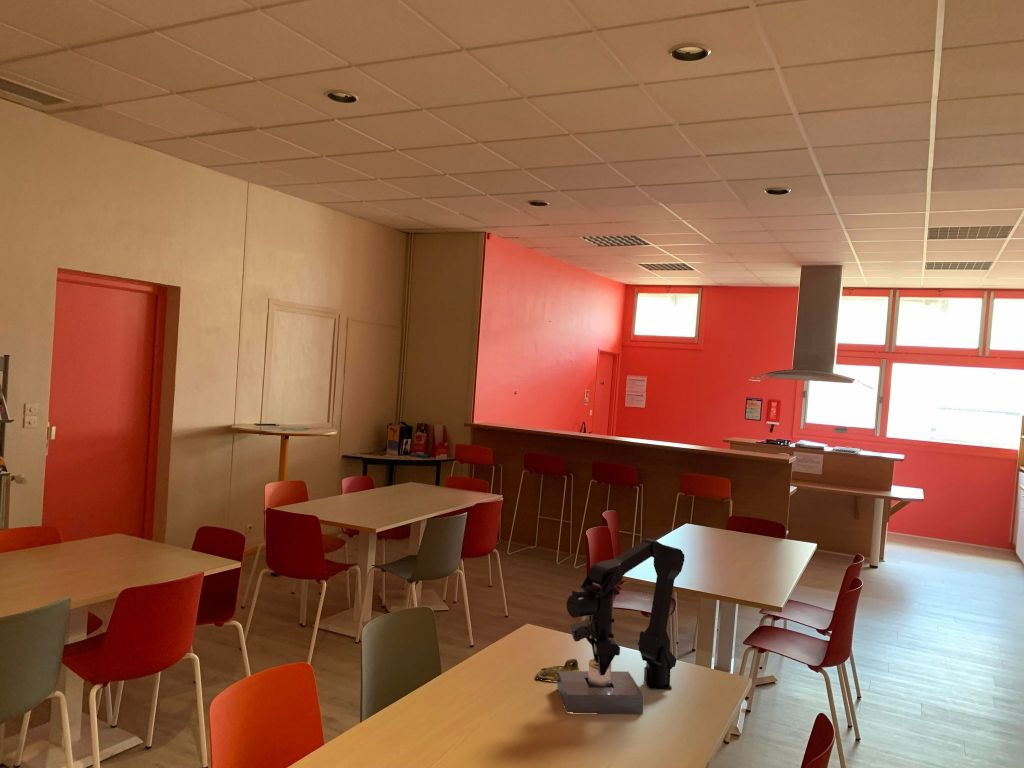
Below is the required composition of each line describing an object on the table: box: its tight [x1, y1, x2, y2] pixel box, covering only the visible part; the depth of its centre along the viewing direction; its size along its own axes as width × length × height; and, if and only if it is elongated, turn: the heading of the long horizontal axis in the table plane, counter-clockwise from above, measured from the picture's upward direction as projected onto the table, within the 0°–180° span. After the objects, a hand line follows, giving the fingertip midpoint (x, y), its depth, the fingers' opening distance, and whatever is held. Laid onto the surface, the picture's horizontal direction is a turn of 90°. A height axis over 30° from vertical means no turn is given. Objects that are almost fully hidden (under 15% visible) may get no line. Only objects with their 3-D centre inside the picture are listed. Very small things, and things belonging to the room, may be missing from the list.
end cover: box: [588, 658, 612, 688], centre depth 202 cm, size 6×6×8 cm
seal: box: [535, 658, 580, 681], centre depth 219 cm, size 9×5×15 cm
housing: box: [556, 670, 644, 715], centre depth 202 cm, size 20×16×5 cm
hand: (599, 670), depth 202 cm, fingers closed on end cover, 6 cm apart
